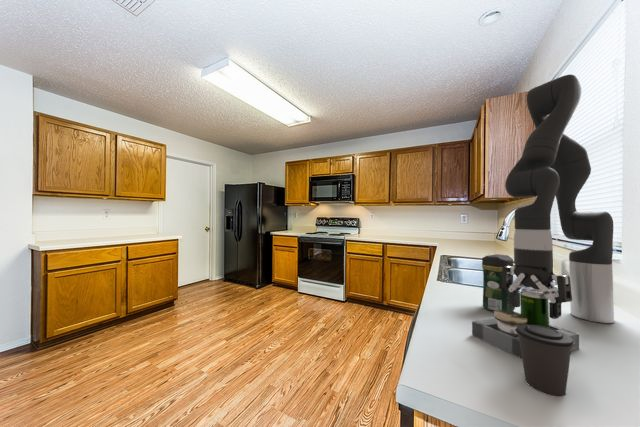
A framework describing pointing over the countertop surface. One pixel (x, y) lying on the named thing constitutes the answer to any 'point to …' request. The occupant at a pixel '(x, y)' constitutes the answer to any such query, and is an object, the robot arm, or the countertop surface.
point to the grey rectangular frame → (508, 336)
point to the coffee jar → (495, 283)
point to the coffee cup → (545, 358)
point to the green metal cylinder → (535, 307)
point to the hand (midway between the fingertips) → (533, 312)
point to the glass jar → (509, 321)
